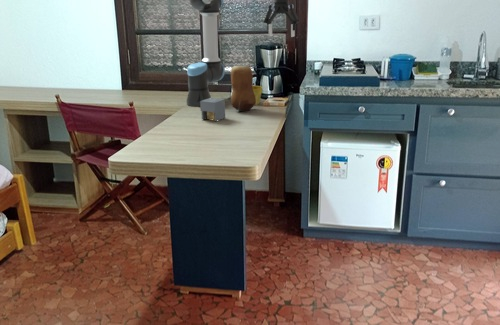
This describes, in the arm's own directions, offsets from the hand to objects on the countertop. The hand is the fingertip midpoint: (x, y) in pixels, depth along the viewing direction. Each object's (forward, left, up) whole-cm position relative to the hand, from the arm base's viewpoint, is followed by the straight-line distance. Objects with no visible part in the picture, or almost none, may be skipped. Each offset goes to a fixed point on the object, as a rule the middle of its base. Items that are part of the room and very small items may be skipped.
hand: (281, 36), depth 263 cm
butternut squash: (-15, -18, -39) cm, 45 cm away
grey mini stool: (-19, -41, -39) cm, 59 cm away
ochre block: (-19, -41, -39) cm, 59 cm away
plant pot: (-19, 0, -39) cm, 43 cm away
